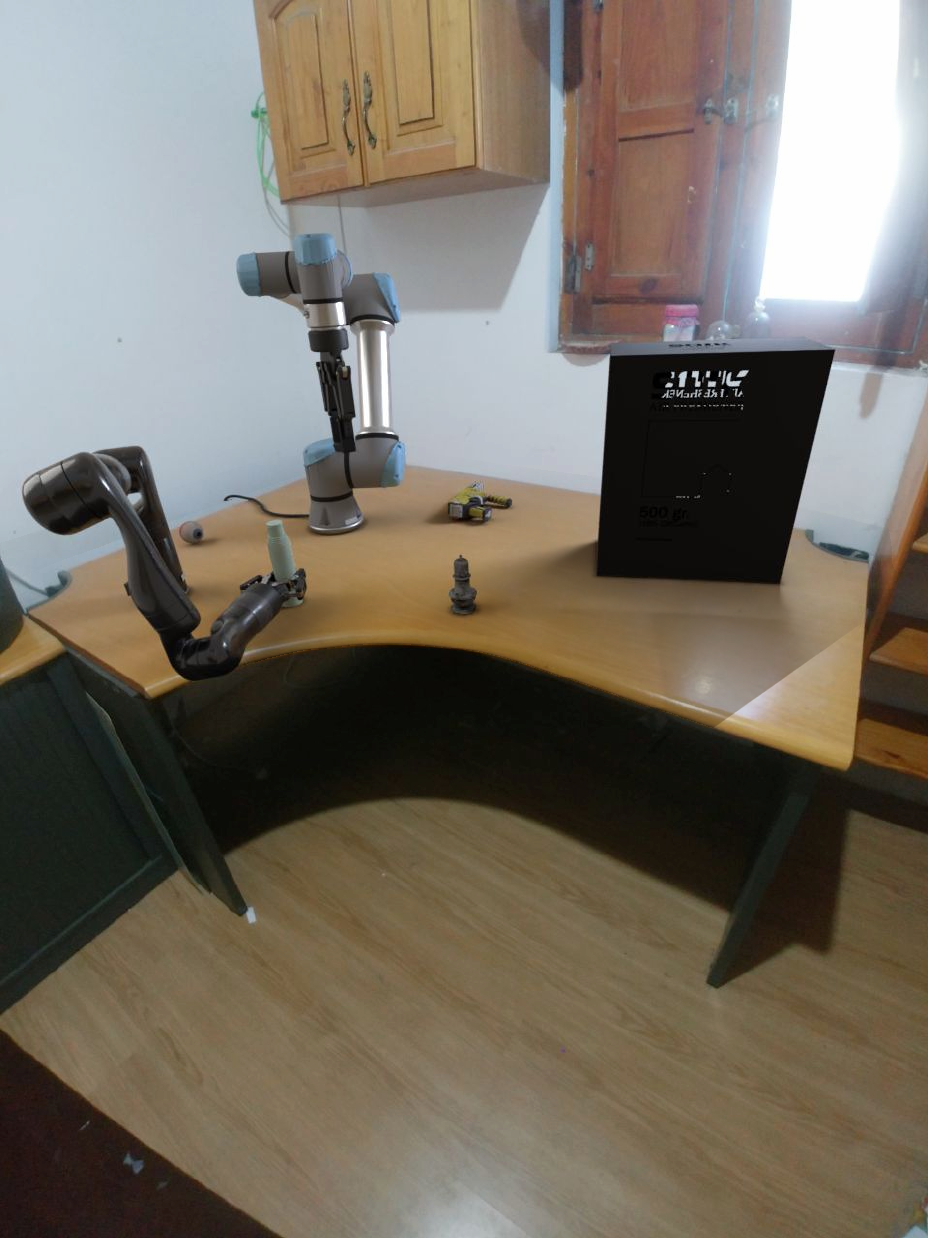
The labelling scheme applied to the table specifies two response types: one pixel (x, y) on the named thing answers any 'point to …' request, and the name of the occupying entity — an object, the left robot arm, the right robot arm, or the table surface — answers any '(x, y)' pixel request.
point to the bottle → (281, 556)
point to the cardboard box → (707, 456)
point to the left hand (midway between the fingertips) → (291, 571)
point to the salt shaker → (462, 588)
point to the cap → (337, 445)
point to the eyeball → (191, 532)
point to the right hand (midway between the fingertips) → (345, 449)
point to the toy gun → (474, 503)
